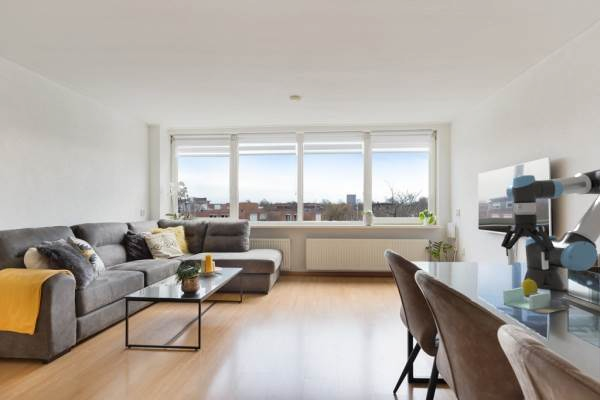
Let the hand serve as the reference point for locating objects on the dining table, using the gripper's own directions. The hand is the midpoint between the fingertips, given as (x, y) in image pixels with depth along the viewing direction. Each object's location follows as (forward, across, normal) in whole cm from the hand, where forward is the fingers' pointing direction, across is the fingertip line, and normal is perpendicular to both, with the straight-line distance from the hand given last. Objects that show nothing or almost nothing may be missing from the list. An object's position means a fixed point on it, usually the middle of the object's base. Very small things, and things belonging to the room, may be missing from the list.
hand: (527, 266), depth 142 cm
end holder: (+12, +9, -15) cm, 20 cm away
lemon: (+13, 0, 0) cm, 13 cm away
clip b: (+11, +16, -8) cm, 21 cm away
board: (+13, +11, -11) cm, 20 cm away
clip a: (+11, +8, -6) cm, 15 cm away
